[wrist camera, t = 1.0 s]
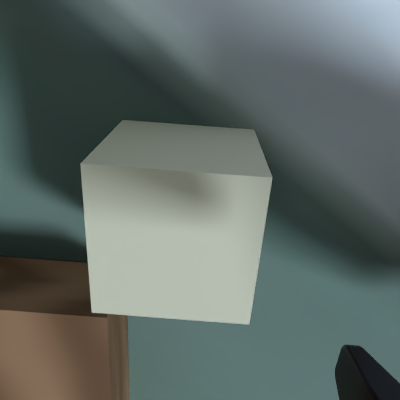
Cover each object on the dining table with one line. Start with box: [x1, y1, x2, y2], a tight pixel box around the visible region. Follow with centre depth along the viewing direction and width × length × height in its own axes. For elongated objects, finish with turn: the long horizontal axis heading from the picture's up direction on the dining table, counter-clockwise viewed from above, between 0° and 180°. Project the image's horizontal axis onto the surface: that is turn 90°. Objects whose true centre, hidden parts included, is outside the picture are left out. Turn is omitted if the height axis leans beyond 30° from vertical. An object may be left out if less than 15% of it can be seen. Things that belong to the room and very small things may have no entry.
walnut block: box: [0, 256, 129, 400], centre depth 22 cm, size 14×14×4 cm
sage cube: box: [80, 120, 272, 324], centre depth 16 cm, size 6×6×6 cm
